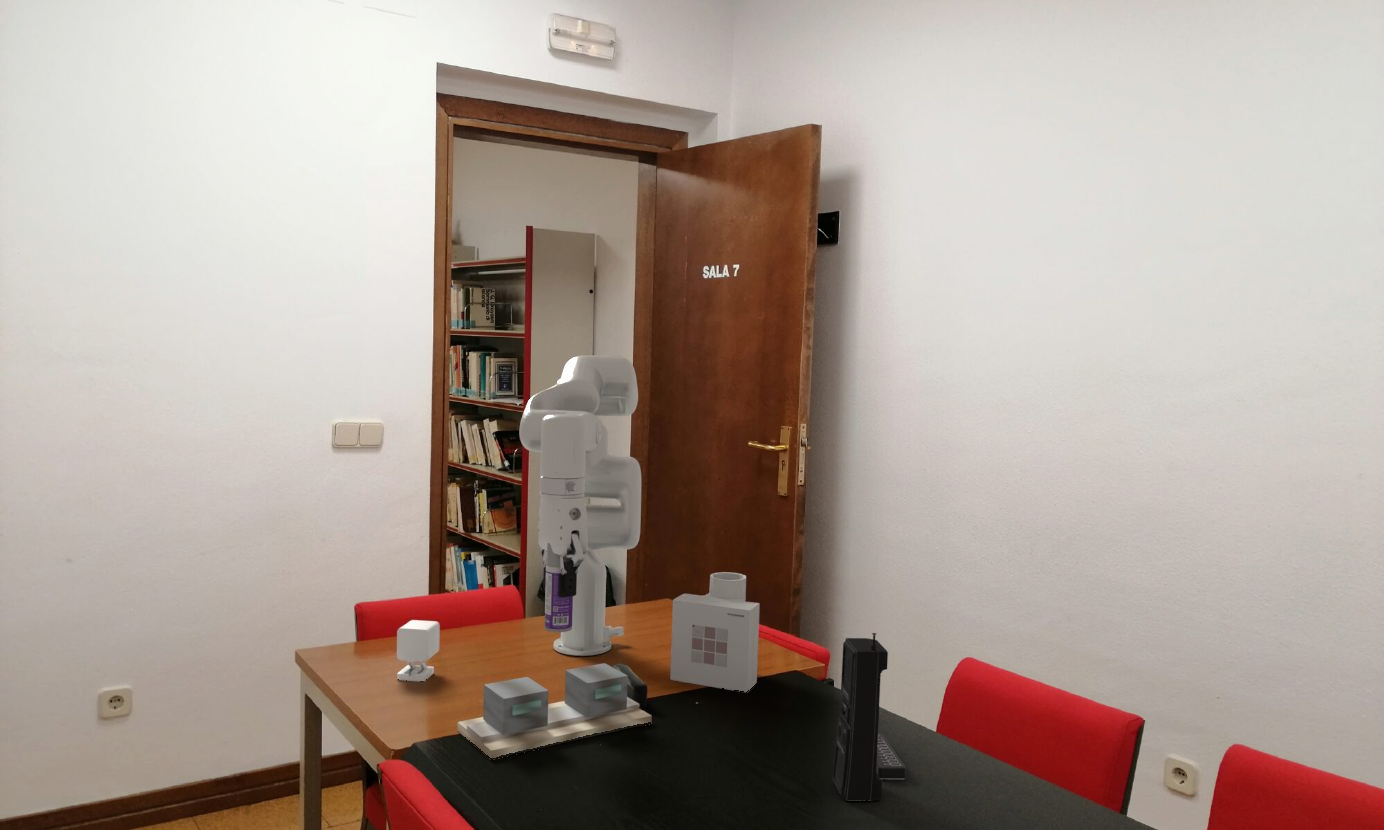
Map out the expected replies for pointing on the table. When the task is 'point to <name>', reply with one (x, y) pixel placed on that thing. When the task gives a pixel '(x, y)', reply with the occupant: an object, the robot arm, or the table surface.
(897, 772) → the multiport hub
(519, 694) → the rail panel
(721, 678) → the white square bottle
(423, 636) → the security camera
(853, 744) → the portable radio
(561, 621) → the container
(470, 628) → the table surface
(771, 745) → the table surface
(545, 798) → the table surface
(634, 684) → the dark grey rounded bar
